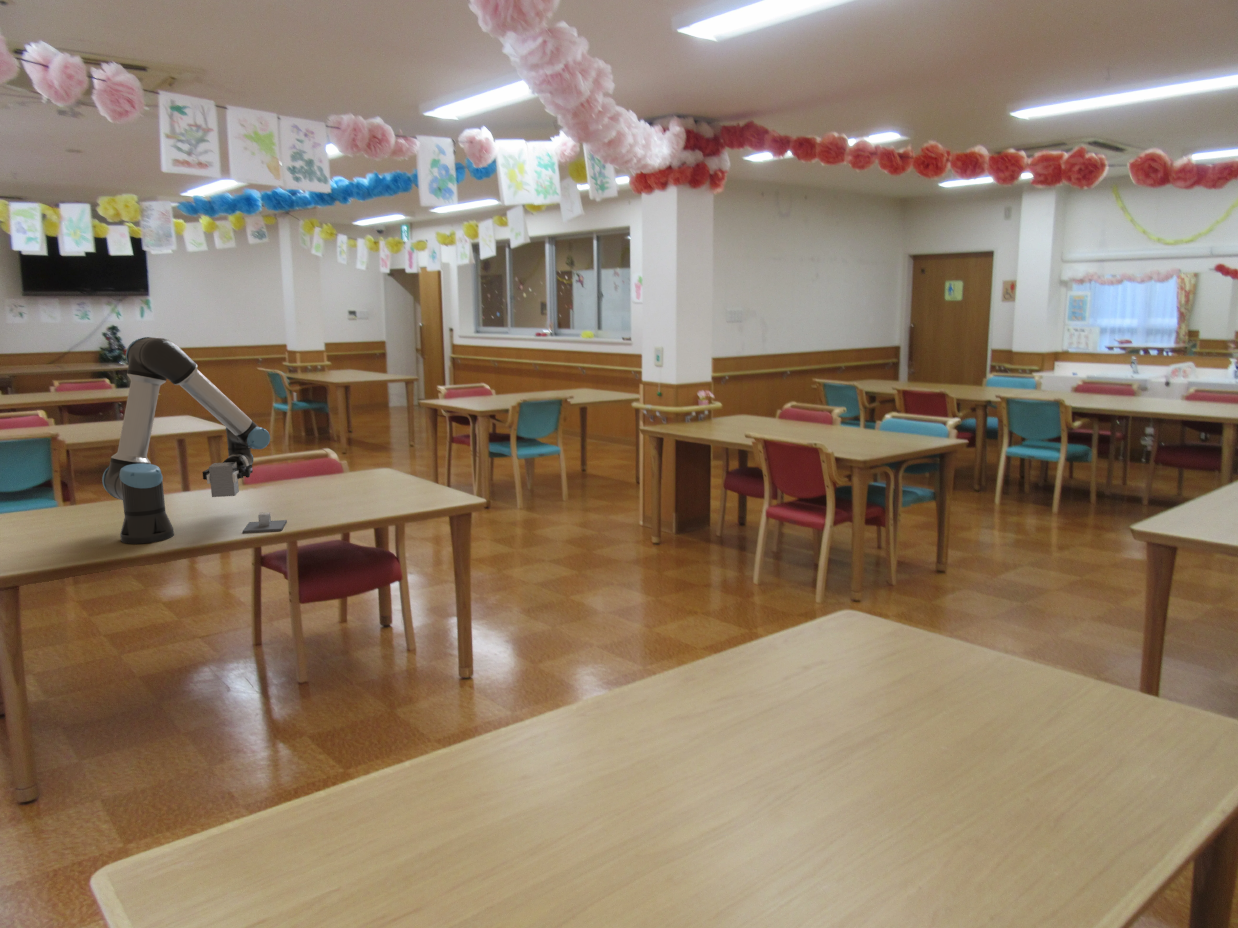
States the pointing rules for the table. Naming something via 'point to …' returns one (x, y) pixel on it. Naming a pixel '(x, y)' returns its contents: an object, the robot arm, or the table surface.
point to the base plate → (265, 527)
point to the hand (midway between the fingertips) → (221, 479)
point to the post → (264, 519)
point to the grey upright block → (223, 479)
